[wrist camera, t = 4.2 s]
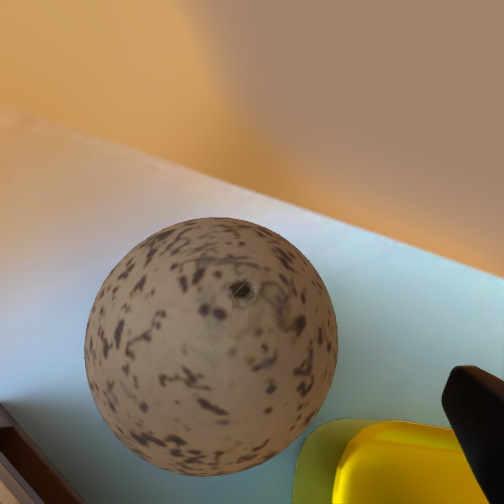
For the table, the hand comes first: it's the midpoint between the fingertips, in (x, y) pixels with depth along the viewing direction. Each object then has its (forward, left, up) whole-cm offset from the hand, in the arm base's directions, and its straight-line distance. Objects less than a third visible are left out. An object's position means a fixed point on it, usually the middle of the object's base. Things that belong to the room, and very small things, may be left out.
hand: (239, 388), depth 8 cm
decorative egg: (+1, -1, -9) cm, 9 cm away
